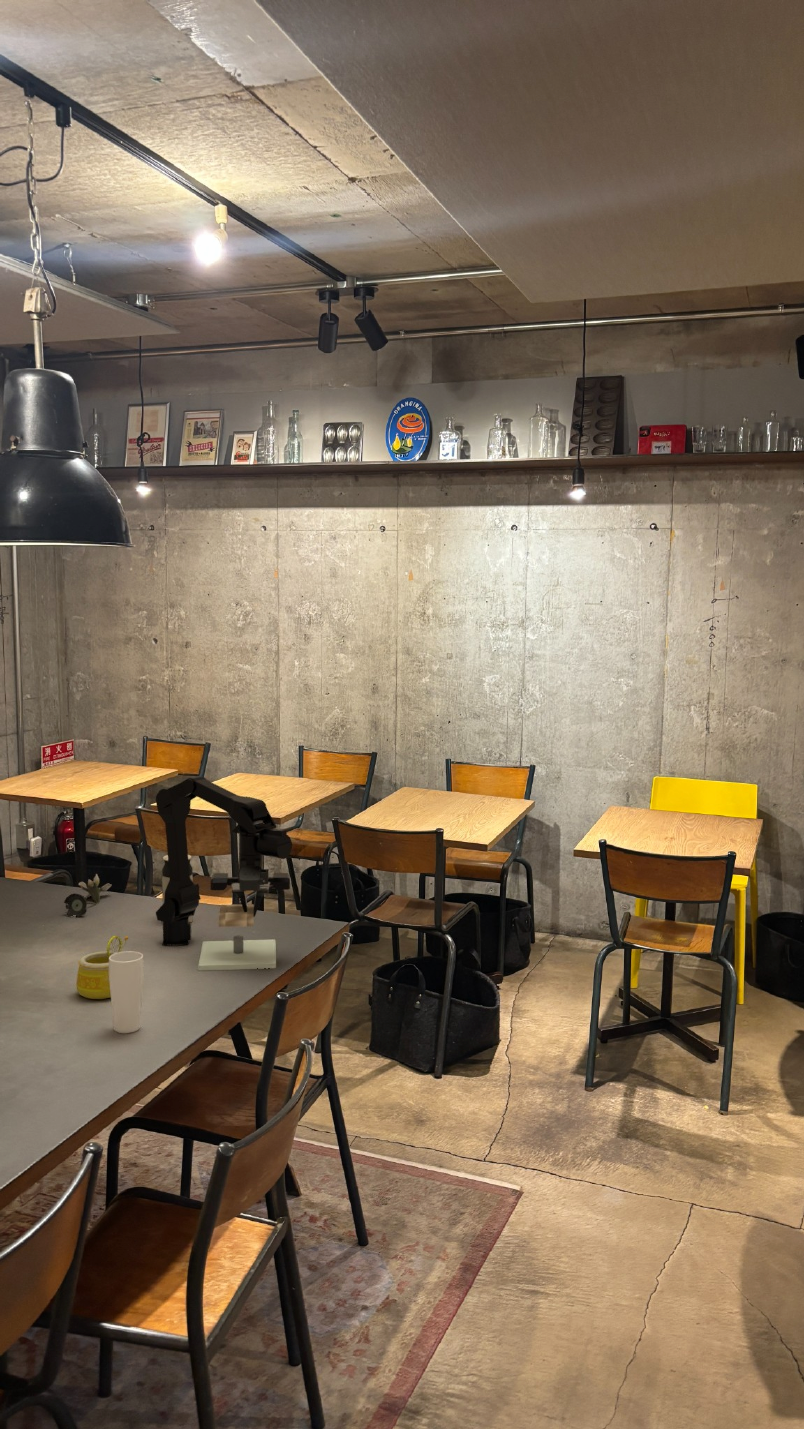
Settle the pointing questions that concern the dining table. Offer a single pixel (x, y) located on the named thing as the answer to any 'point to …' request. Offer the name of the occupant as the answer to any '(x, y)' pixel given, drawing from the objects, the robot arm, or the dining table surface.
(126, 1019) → the drinking glass
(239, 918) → the square wooden frame
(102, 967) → the mug
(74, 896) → the artificial flower
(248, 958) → the pale green base plate
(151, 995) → the dining table surface
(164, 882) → the travel mug
